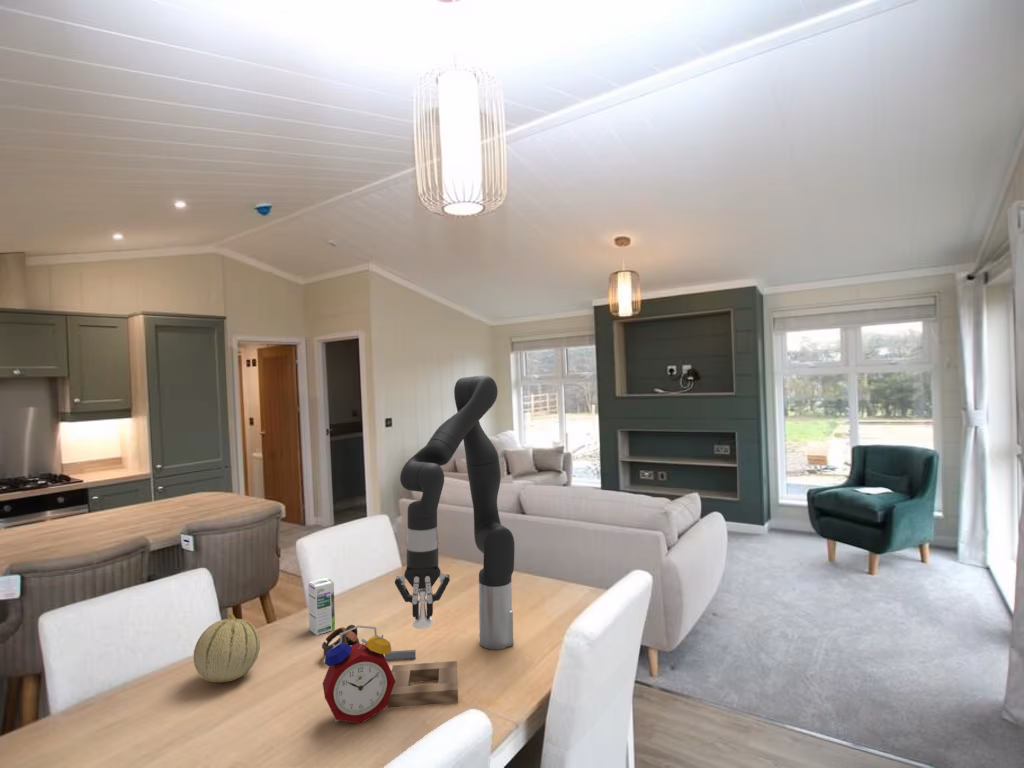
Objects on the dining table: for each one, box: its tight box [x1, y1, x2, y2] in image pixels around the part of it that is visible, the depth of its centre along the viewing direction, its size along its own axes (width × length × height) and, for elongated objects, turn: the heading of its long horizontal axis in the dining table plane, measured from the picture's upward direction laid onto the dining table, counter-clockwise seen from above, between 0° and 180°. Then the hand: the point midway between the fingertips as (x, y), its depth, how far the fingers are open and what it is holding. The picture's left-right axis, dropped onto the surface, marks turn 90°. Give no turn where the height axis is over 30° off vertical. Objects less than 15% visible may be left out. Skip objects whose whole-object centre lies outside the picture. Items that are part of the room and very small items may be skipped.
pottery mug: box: [321, 624, 361, 657], centre depth 148 cm, size 12×10×8 cm
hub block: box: [386, 660, 459, 709], centre depth 130 cm, size 16×13×3 cm
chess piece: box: [412, 589, 434, 630], centre depth 130 cm, size 5×5×10 cm
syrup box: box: [307, 577, 336, 636], centre depth 163 cm, size 6×6×14 cm
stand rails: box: [384, 649, 417, 672], centre depth 140 cm, size 8×11×2 cm
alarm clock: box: [322, 624, 395, 724], centre depth 121 cm, size 15×9×20 cm, turn 114°
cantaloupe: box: [193, 613, 261, 684], centre depth 136 cm, size 15×15×15 cm
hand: (422, 617), depth 130 cm, fingers closed on chess piece
